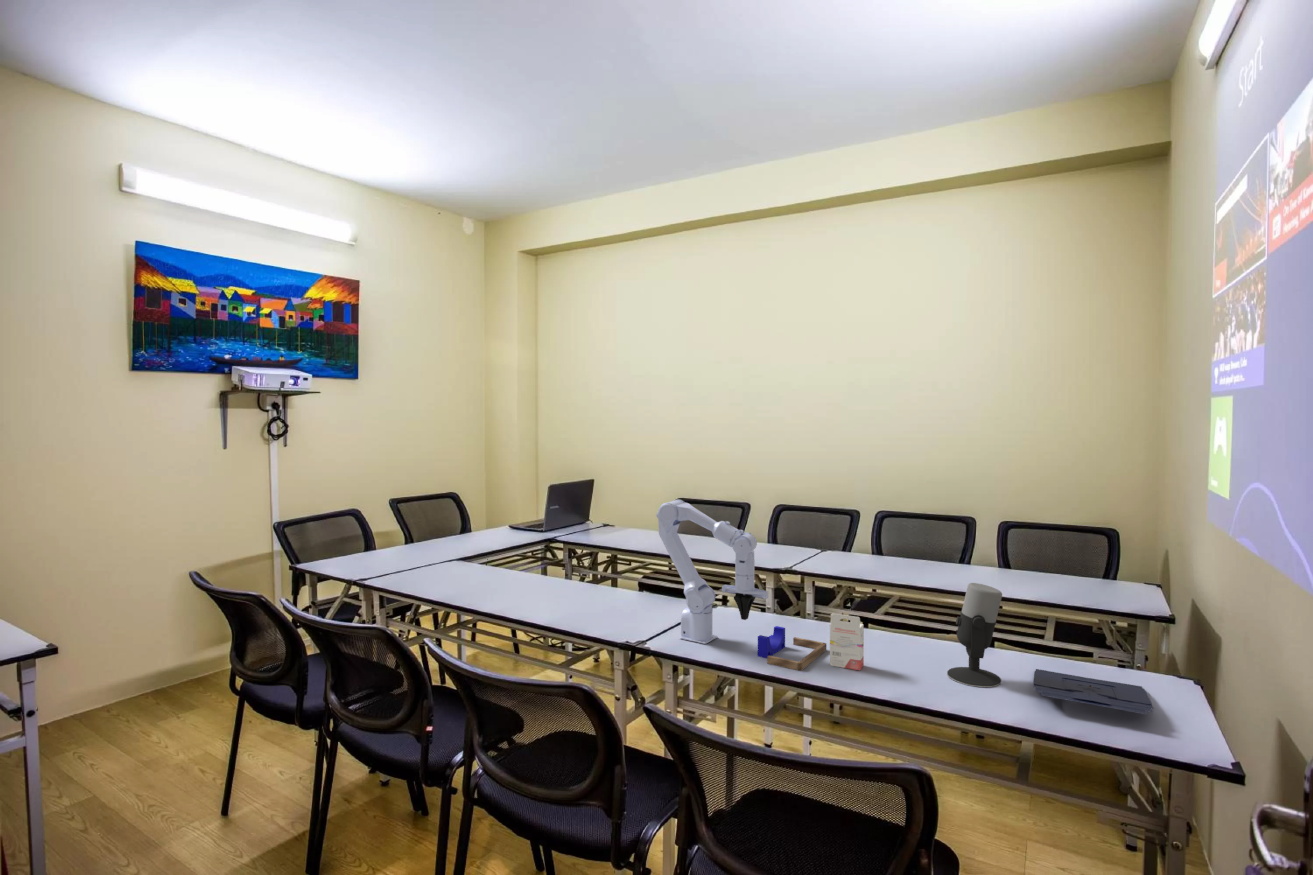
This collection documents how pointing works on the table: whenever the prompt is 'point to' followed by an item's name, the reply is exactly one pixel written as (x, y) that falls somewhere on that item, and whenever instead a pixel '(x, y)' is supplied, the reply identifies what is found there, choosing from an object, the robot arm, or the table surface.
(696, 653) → the table surface
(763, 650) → the blue curved bracket
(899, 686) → the table surface
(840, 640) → the ink cartridge box
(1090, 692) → the grooved grey slab
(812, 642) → the frame
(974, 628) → the microphone
